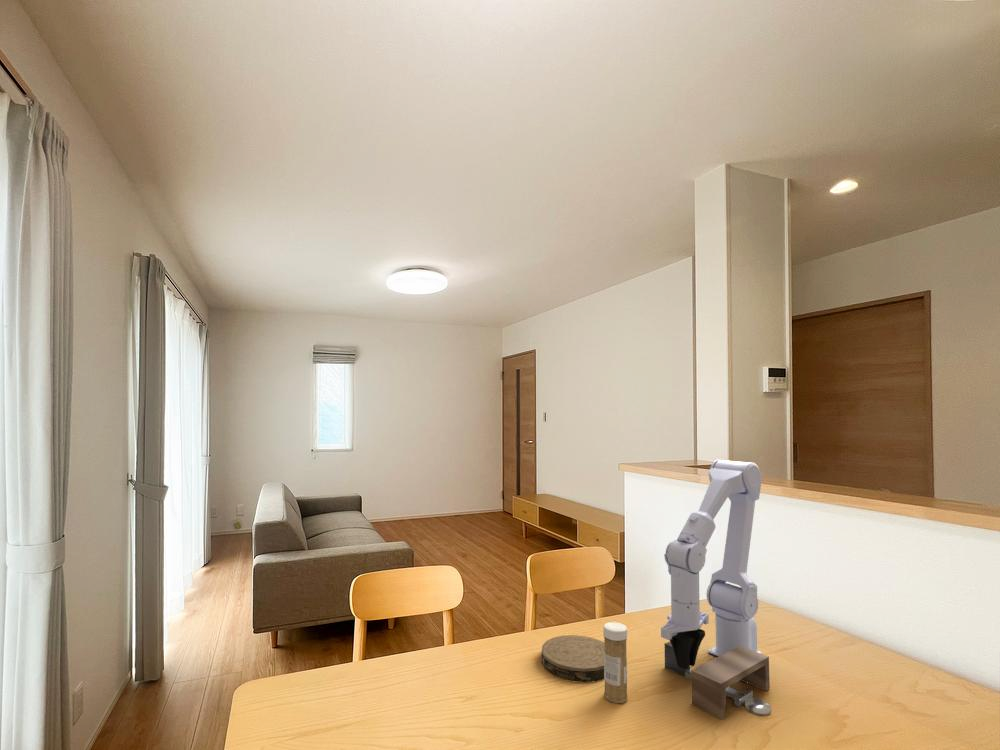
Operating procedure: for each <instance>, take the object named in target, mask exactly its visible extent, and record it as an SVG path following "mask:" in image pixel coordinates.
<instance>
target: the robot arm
mask: <svg viewBox="0 0 1000 750" xmlns="http://www.w3.org/2000/svg"><path fill="white" fill-rule="evenodd" d="M708 478H709V479H708V480H709V484H708V487H707V489H706V492H705V495H704V497H703V499H702V502H701V503H700V506H699V508H698V511H694V512H691V513H690V515H689V516H688V518H687V521H686V522H685V523H684V526H683V528H682V529H681V532H680V533H679V535H678V537H677V539H675V540H674V539H673V541H670V542H669V543H668V544H667V546H666V549H665V553H664V554H663V555H664V562H665V563H666V565H667V569H668V570H667V572H668V574H669V575H670V607H671V608H670V614H668V615H667V617H666V618H667V622H666V623H665V625H663V626H661V627H660V637H661V638H663V639H665V640H668V641H669V642H671V644H672V647H673V650H674V653H675V657H676V661H677V665H678V666H679V667H681V668H683V669H688V667H689V658H690V667H694V666H695V664H696V661H697V656H698V652H699V648H700V646H701V643H702V641H703V640H704V638H705V637H706V631H705V630H704V629H701V628H702V626H703V625H709V622H710V620H709V617H710V616H709V614H708V613H705V612H702V611H700V604H701V603H700V601H701V600H700V572H701V571H702V570H703V568H704V567H705V564H706V554H707V551H708V549H707V545H708V543H709V542H710V539H711V538H712V535H713V534H714V531H715V529H716V524H715V521H714V520H715V518H716V516H717V515H718V513H719V511H720V510H721V508H722V507H723V505H724V504H725V502H726V501H727V499H729V501H730V508H729V514H728V515H729V516H728V521H727V531H726V538H725V544H724V545H725V546H724V554H723V561H722V567H721V568H720V569H717V571H714V572H713V573H712V574H711V578H710V582H709V584H708V586H707V587H706V601H707V603H708V605H709V606H710V607H711V608H712V609H711V610H712V612H713V613H715V614H714V615H715V617H714V618H715V621H714V622H715V646H714V647H712V648H709V649H708V650H707V652H708V653H709V654H711V655H713V656H716V657H719V656H721V655H723V654H725V653H727V652H729V651H730V650H732V649H734V648H736V647H738V646H742V647H745V648H747V649H750V650H753V651H755V652H758V653H761V654H762V652H761V651H760V650H758V625H757V622H756V620H755V618H754V617H755V616H756V614H757V612H758V609H759V599H758V585H757V584H756V583H755V582H754V580H752V578H751V577H750V576H749V575H748V572H747V571H748V563H749V556H750V548H751V547H750V546H751V540H752V531H753V523H754V515H755V509H756V508H755V507H756V501H758V500H759V499H760V496H761V488H762V478H763V475H762V472H761V469H759V466H758V465H757V464H756V463H755V462H753V461H752V462H751V461H749V462H746V461H738V460H737V461H735V460H723V459H715V460H714V461H713V462H712V463H711V465H710V468H709V470H708ZM727 582H728V583H727ZM730 583H731V584H730ZM733 584H734V585H733Z"/></svg>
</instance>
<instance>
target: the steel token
mask: <svg viewBox="0 0 1000 750" xmlns="http://www.w3.org/2000/svg"><path fill="white" fill-rule="evenodd" d="M744 707H746V708H747V709H746V708H745V709H746V710H747V711H748V710H749V712H750V713H751V714H754V713H755V714H754V715H757V714H758V715H757V716H762V715H766V716H769V715H771V714H772V707H771V705H770V704H769V703H768V702H766V701H764V700H762V699H759V698H754V697H753V698H750V699H746V700H745V704H744ZM770 713H771V714H770Z"/></svg>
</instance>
